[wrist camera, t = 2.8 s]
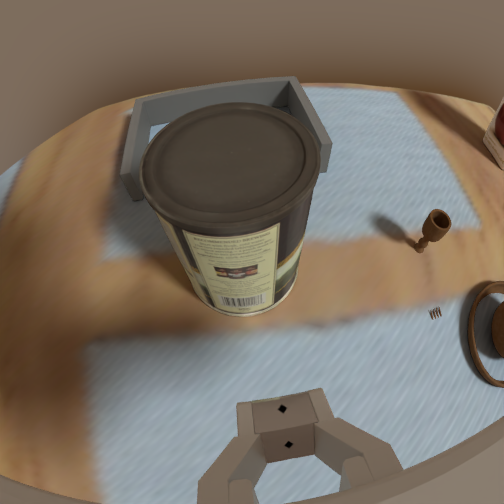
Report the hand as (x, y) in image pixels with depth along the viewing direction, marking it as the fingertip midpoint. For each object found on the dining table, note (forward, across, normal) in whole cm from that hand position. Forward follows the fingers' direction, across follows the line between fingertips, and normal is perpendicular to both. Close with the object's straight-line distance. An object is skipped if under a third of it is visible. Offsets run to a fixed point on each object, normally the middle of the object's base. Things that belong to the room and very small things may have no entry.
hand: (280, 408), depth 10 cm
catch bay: (+31, +1, -11) cm, 33 cm away
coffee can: (+20, +1, +1) cm, 20 cm away
